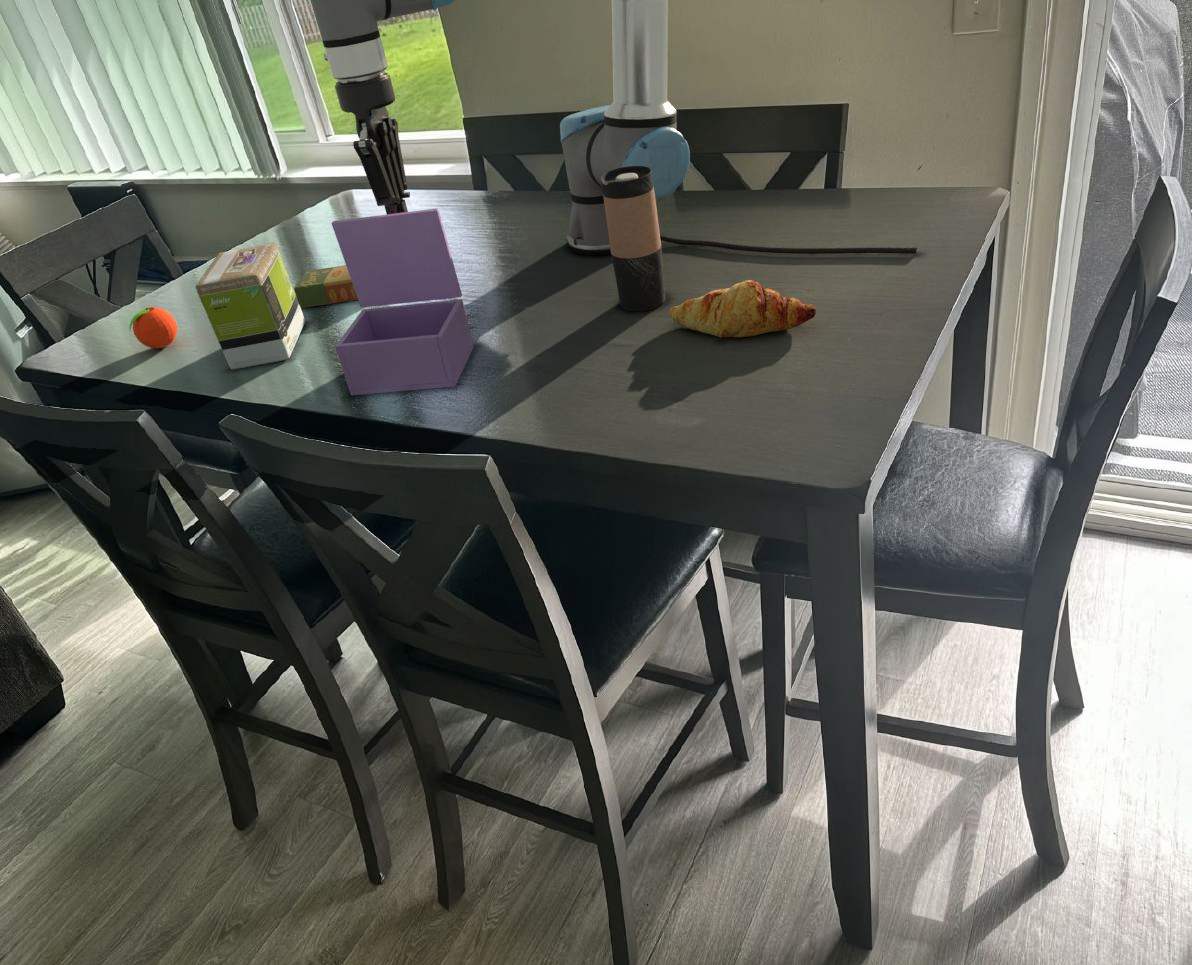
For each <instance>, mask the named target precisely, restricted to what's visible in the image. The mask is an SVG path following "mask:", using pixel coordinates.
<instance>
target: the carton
mask: <svg viewBox="0 0 1192 965" xmlns="http://www.w3.org/2000/svg"><path fill="white" fill-rule="evenodd" d="M293 290H294V292H295V295H296V298H297V301H298V303H299V306H300V308H301V309H302V308H303V309H305V308H309V307H317V306H324V305H330V304H336V303H345V302H352V301H359V300H358V297H357V295H356V292H355V289H354V286H353V283H352V280H351V278H350V275H349V272H348V269H347V266H346V264H344V265H337V266H331V267H324V268H317V269H310V270H306V271H305V273H304V274H303V275H302V276H301V277H300V279H299V281H298V282H297V283H296V284H295V285H294V287H293Z"/></svg>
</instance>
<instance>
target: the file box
mask: <svg viewBox="0 0 1192 965" xmlns="http://www.w3.org/2000/svg"><path fill="white" fill-rule="evenodd" d="M474 348H475V346H474V342H473V338H472V334H471V330H470V326H469V321H468V318H467V313H466V309H465V304H464V301H463V299H462V298H461V299H453V300H452V299H451V300H450V299H449V300H441V301H440V300H439V301H432V302H431V301H429V302H421V303H413V304H402V305H391V306H383V307H382V306H381V307H373V308H363V309H362V310H361V311H360V313H359V314H358V315H357V316H356V317H355V319H354V320H353V322H352V323H351V324H350V326H349V327H348V328H347V330H346V331H345V332H344V334H343V335H342V336H341V337H340V339H339V340H338V342H337V343H336V344H335V345H334V349H335V351H336V355H337V357H338V360H339V363H340V364H339V365H340V366H341V369H342V372H343V375H344V378H345V381H346V384H347V388H348V390H349V393H350V396H362V395H371V394H373V395H374V394H384V393H396V392H408V391H418V390H419V391H421V390H431V389H443V388H453V387H456V386H457V384H458V382H459V379H460V378H461V376H462V373H463V371H464V369H465V367H466V365H467V362H468V360H469V358H470V357H471V354H472V352H473V349H474Z"/></svg>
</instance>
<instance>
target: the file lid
mask: <svg viewBox="0 0 1192 965" xmlns="http://www.w3.org/2000/svg"><path fill="white" fill-rule="evenodd" d="M331 226H332V230H333V232H334V235H335V238H336V240H337V244H338V246H339V249H340V252H341V256H342V257H343V260H344V261H343V262H344V263H345V265H346V266H347V269H348V272H349V275H350V278H351V280H352V283H353V286H354V289H355V292H356V295H357V297H358V300H357V301H358V302H359V306H360V308H371V307H380V306H381V307H382V306H388V305H391V306H392V305H400V304H409V303H418V302H431V301H438V300H439V301H440V300H448V299H449V300H450V299H457V298H462V296H463V293H462V290H461V287H460V282H459V279H458V274H457V271H456V269H455V268H456V267H455V264H454V260H453V256H452V253H451V250H450V249H451V248H450V246H449V242H448V238H447V235H446V232H445V227H444V224H443V220H442V217H441V213H440V210H439V208H430V209H429V208H428V209H422V210H421V209H419V210H412V211H408V212H404V213H396V214H381V215H380V214H379V215H372V216H363V217H355V218H347V219H339V220H332V221H331Z"/></svg>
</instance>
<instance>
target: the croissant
mask: <svg viewBox="0 0 1192 965" xmlns="http://www.w3.org/2000/svg"><path fill="white" fill-rule="evenodd" d="M816 307H817V306H816V304H814V303H802V301H801V300H800V299H798V298H794V297H785V296H782V295H781V294H780V293H779V292H778V291H777V290H774V288H766V287H763V285H762V284H760V282H758V281H757V280H749V279H745V280H743V281H741V282H738V283H735V284H733V285H732V286H731V287H728V288H727V287H725V288H718V289H714V290H711V291H710V292H708V293H705V294H704V295H702V296H700V297H695V298H689V299H687V300H685V301H684V302H682V303H681V304H679V305H674V306H671V308H670V309H669V317H670V319H671V320H672V321H673V322H675V323H677V324H678V325H681V326H684V327H685V328H687V329H689V330H692V331H697V332H700V333H703V334H707V335H711V336H715V337H718V338H724V337H725V338H731V337H732V338H746V337H755V336H758V335H764V334H766V333H771V332H781V331H785V330H790V329H793V328H797V327H799V326H802V324H805V323H806V322H808V321H810V320H812V319H814V318H815V316H816V315H817V308H816Z"/></svg>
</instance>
